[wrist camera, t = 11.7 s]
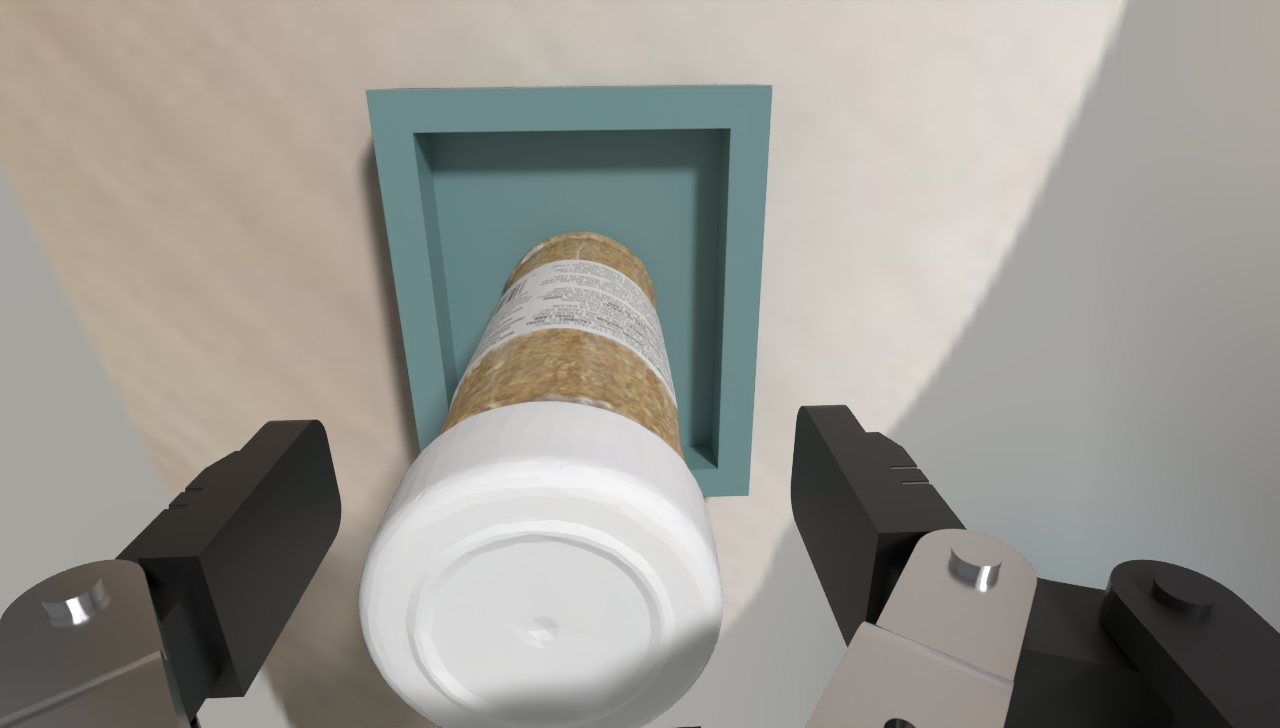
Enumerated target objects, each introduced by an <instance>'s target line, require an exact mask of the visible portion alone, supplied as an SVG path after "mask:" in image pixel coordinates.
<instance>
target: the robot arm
mask: <svg viewBox="0 0 1280 728" xmlns="http://www.w3.org/2000/svg"><path fill="white" fill-rule="evenodd" d="M791 504H792V511H793V515H794V519H795V522H796V525H797V527H798V529H799V532H800V534H801V536H802V539H803V541H804V544H805V546H806V549H807V551H808V554H809V556H810V558H811V561H812V563H813V565H814V568H815V570H816V573H817V575H818V578H819V580H820V582H821V585H822V587H823V590H824V592H825V595H826V597H827V599H828V602H829V604H830V607H831V609H832V611H833V614H834V616H835V619H836V621H837V623H838V626H839V628H840V631H841V633H842V636H843V638H844V640H845V643H846V645H847V650H846V652H845V654H844V656H843V658H842V659H841V661H840V663H839V665H838V667H837V669H836V670H835V673H834V674H833V676H832V678H831V680H830V682H829V683H828V685H827V687H826V689H825V691H824V693H823V695H822V696H821V698H820V700H819V702H818V704H817V706H816V708H815V710H814V711H813V713H812V715H811V717H810V719H809V721H808V722H807V724H806V726H805V728H1280V633H1278V632H1277V631H1276V630H1275V629H1274V628H1273V627H1272V626H1271V625H1269V623H1267V622H1266V621H1265V620H1264V619H1263V618H1262V617H1261V616H1260V615H1259V614H1257V613H1256V612H1255V611H1254V610H1253V609H1252V608H1251V607H1250V606H1249V605H1248V604H1246V603H1245V602H1244V601H1243V600H1242V599H1241V598H1240V597H1238V596H1237V595H1236V594H1235V593H1233V592H1232V591H1230V590H1229V589H1228V588H1226V587H1225V586H1223V585H1222V584H1220V583H1218V582H1216V581H1214V580H1213V579H1211V578H1209V577H1207V576H1204V575H1202V574H1200V573H1198V572H1195V571H1193V570H1190V569H1187V568H1184V567H1181V566H1178V565H1174V564H1170V563H1166V562H1161V561H1153V560H1131V561H1127V562H1123V563H1121V564H1119V565H1117V566H1116V567H1115V568H1114V569H1113V571H1112V573H1111V575H1110V578H1109V581H1108V584H1107V587H1106V590H1101V589H1095V588H1089V587H1084V586H1078V585H1072V584H1067V583H1061V582H1055V581H1050V580H1046V579H1041V578H1038V577H1037V576H1036V572H1035V570H1034V568H1033V566H1032V565H1031V563H1030V562H1029V561H1028V560H1027V558H1025V557H1024V556H1023V555H1022V554H1021V553H1020V552H1018V551H1017V550H1016V549H1015V548H1013V547H1012V546H1010V545H1008V544H1006V543H1005V542H1003V541H1001V540H998V539H996V538H994V537H991V536H988V535H986V534H982V533H978V532H975V531H969V530H967V529H966V528H965V527H964V525H963V524H962V523H961V521H960V520H959V519H958V518H957V516H956V515H955V514H954V512H953V511H952V510H951V509H950V507H949V506H948V505H947V503H946V502H945V501H944V500H943V498H942V497H941V496H940V494H939V493H938V492H937V491H936V489H935V488H934V487H933V486H932V485H929V480H928V479H927V478H926V476H925V475H924V474H923V473H922V471H921V470H920V469H917V465H916V464H915V463H914V461H913V460H912V458H911V457H910V456H909V455H908V453H907V452H906V451H905V449H904V448H903V447H902V446H900V445H898V444H897V443H895V442H894V441H892V440H890V439H889V438H887V437H886V436H884V435H882V434H881V433H879V432H865V430H864V429H863V428H862V426H861V425H860V423H859V422H858V421H857V419H856V418H855V416H854V415H853V414H852V412H851V411H850V409H849V408H848V407H847V406H846V405H821V406H801V407H800V409H799V411H798V415H797V421H796V432H795V443H794V454H793V466H792V477H791ZM340 521H341V499H340V494H339V490H338V485H337V480H336V476H335V471H334V466H333V462H332V457H331V452H330V448H329V443H328V439H327V434H326V431H325V428H324V426H323V424H322V423H321V422H320V421H319V420H284V421H269V422H267V423H266V424H265V425H264V426H263V427H262V428H261V429H260V430H259V431H258V432H257V433H256V434H255V435H254V436H253V437H252V438H251V439H250V440H249V442H248V443H247V444H246V445H245V446H244V447H243V448H242V449H241V450H240V451H234V452H233V453H231V454H229V455H228V456H226V457H224V458H222V459H221V460H219V461H217V462H215V463H214V464H212V465H210V466H209V467H207V468H205V469H204V470H203V471H202V472H201V473H200V474H199V475H198V476H197V477H196V478H195V479H194V480H193V481H192V482H191V483H190V484H189V485H188V486H187V487H186V488H185V492H181V493H180V494H179V495H178V496H177V497H176V498H175V499H174V500H173V501H172V502H171V503H170V504H169V509H165V510H163V511H162V512H161V513H160V514H159V515H158V516H157V517H156V518H155V519H154V520H153V521H152V522H151V523H150V524H149V525H148V526H147V527H146V528H145V529H144V530H143V531H142V532H141V533H140V534H139V535H138V536H137V537H136V538H135V540H133V541H132V542H131V543H130V544H129V545H128V546H127V547H126V548H125V549H124V550H123V551H122V552H121V553H120V554H119V555H118V556H117V557H116V558H115V559H114V560H104V561H97V562H92V563H88V564H84V565H81V566H77V567H74V568H71V569H68V570H66V571H63V572H60V573H58V574H56V575H54V576H52V577H50V578H47V579H46V580H44V581H42V582H40V583H38V584H36V585H35V586H33V587H32V588H30V589H29V590H27V591H26V592H24V593H23V594H22V595H21V596H19V597H18V598H17V599H16V600H15V601H14V602H13V603H12V604H11V605H10V606H9V607H8V608H7V609H6V611H5V612H4V614H3V615H2V617H1V619H0V728H201V726H200V723H199V720H198V718H197V715H196V714H197V712H198V710H199V709H200V707H201V706H202V704H203V702H204V701H205V699H206V698H226V697H244V696H245V694H246V692H247V691H248V689H249V687H250V685H251V684H252V682H253V680H254V678H255V677H256V675H257V673H258V672H259V670H260V668H261V666H262V665H263V663H264V661H265V659H266V658H267V656H268V654H269V652H270V651H271V649H272V647H273V645H274V644H275V642H276V640H277V638H278V637H279V635H280V633H281V632H282V630H283V628H284V626H285V625H286V623H287V621H288V619H289V618H290V616H291V614H292V612H293V611H294V609H295V607H296V605H297V604H298V602H299V600H300V598H301V597H302V595H303V593H304V591H305V590H306V588H307V586H308V585H309V583H310V581H311V579H312V578H313V576H314V574H315V572H316V571H317V569H318V567H319V565H320V564H321V562H322V560H323V558H324V557H325V555H326V553H327V551H328V550H329V548H330V546H331V545H332V543H333V541H334V539H335V537H336V535H337V533H338V530H339V526H340ZM679 728H701V727H679Z"/></svg>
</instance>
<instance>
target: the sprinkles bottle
mask: <svg viewBox="0 0 1280 728" xmlns="http://www.w3.org/2000/svg"><path fill="white" fill-rule="evenodd" d="M358 606H359V617H360V623H361V628H362V632H363V637H364V640H365V643H366V645H367V648H368V651H369V654H370V656H371V658H372V660H373V662H374V663H375V665H376V666H377V668H378V670H379V671H380V673H381V675H382V676H383V678H384V679H385V680H386V682H387V683H388V684H389V686H390V687H391V688H392V689H393V690H394V691H395V692H396V693H397V694H398V695H399V696H400V697H401V699H402V700H403V701H404V702H405V703H407V704H408V705H409V706H410V707H412V708H413V709H414V710H415V711H417V712H418V713H419V714H421V715H422V716H424V717H425V718H427V719H428V720H430V721H431V722H433V723H435V724H436V725H438V726H440V727H442V728H641V727H643V726H645V725H646V724H648V723H650V722H651V721H653V720H654V719H656V718H657V717H658V716H660V715H661V714H663V713H664V712H665V711H667V710H668V709H669V708H671V707H672V706H673V705H674V704H675V703H676V702H677V701H678V700H679V699H680V698H682V696H684V695H685V694H686V693H687V692H688V691H689V689H690V688H691V687H692V685H693V684H694V683H695V682H696V680H697V679H698V678H699V676H700V675H701V673H702V671H703V670H704V668H705V666H706V665H707V663H708V661H709V659H710V657H711V655H712V653H713V651H714V648H715V645H716V643H717V639H718V636H719V631H720V627H721V621H722V610H723V586H722V580H721V575H720V569H719V563H718V558H717V552H716V547H715V542H714V538H713V533H712V528H711V524H710V520H709V516H708V512H707V508H706V504H705V501H704V498H703V495H702V492H701V490H700V488H699V486H698V484H697V482H696V480H695V478H694V476H693V475H692V473H691V472H690V470H689V469H688V467H687V465H686V463H685V461H684V457H683V451H682V449H681V442H680V436H679V425H678V420H677V402H676V397H675V392H674V387H673V383H672V378H671V371H670V367H669V362H668V358H667V353H666V349H665V344H664V340H663V335H662V330H661V326H660V322H659V319H658V316H657V314H656V297H655V290H654V287H653V284H652V281H651V279H650V277H649V275H648V273H647V271H646V269H645V267H644V265H643V263H642V262H641V260H640V259H639V258H638V257H636V256H635V255H634V254H633V253H632V252H631V251H630V250H629V249H628V248H627V247H625V246H624V245H622V244H620V243H619V242H617V241H615V240H614V239H612V238H610V237H607V236H603V235H600V234H597V233H593V232H589V231H588V232H568V233H563V234H559V235H555V236H553V237H550V238H548V239H546V240H543V241H541V242H540V243H538V244H537V245H535V246H533V247H532V248H531V249H530V250H529V251H528V252H527V253H526V254H525V256H523V257H522V258H521V259H520V261H519V262H518V264H517V266H516V267H515V268H514V269H513V271H512V273H511V275H510V277H509V279H508V282H507V289H506V292H505V294H504V295H503V297H502V298H501V300H500V301H499V303H498V305H497V307H496V309H495V311H494V313H493V315H492V317H491V319H490V321H489V323H488V325H487V327H486V329H485V331H484V333H483V335H482V337H481V340H480V342H479V344H478V346H477V348H476V350H475V352H474V354H473V356H472V358H471V360H470V362H469V364H468V366H467V368H466V370H465V372H464V374H463V376H462V378H461V380H460V382H459V384H458V386H457V389H456V391H455V393H454V396H453V399H452V402H451V405H450V409H449V413H448V415H447V417H446V419H445V422H444V425H443V427H442V429H441V431H440V433H439V435H438V437H437V438H436V439H435V440H434V441H433V442H431V443H430V444H429V445H428V446H427V447H426V448H425V449H424V450H423V451H422V452H421V453H420V455H419V456H418V457H417V458H416V460H415V461H414V462H413V463H412V465H411V466H410V468H409V469H408V471H407V473H406V474H405V476H404V478H403V479H402V481H401V483H400V485H399V487H398V489H397V491H396V493H395V495H394V497H393V499H392V501H391V503H390V505H389V507H388V509H387V511H386V513H385V515H384V517H383V519H382V522H381V524H380V526H379V529H378V531H377V533H376V536H375V538H374V540H373V543H372V545H371V548H370V550H369V553H368V555H367V558H366V561H365V563H364V567H363V572H362V576H361V580H360V585H359V601H358Z"/></svg>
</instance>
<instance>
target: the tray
mask: <svg viewBox="0 0 1280 728" xmlns="http://www.w3.org/2000/svg"><path fill="white" fill-rule="evenodd" d="M366 96H367V102H368V109H369V116H370V122H371V129H372V135H373V142H374V149H375V155H376V162H377V169H378V175H379V182H380V189H381V195H382V202H383V209H384V215H385V222H386V228H387V235H388V242H389V248H390V255H391V262H392V268H393V275H394V282H395V288H396V295H397V302H398V308H399V315H400V321H401V328H402V335H403V341H404V348H405V355H406V361H407V368H408V375H409V381H410V388H411V395H412V401H413V408H414V414H415V421H416V428H417V434H418V441H419V448H420V453H421V452H422V451H423V450H424V449H425V448H426V447H427V446H428V445H429V444H430V443H431V442H433V441H434V440H435V439H436V438H437V437H438V435H439V433H440V431H441V429H442V427H443V425H444V422H445V419H446V417H447V415H448V413H449V409H450V405H451V402H452V399H453V396H454V393H455V391H456V389H457V386H458V384H459V382H460V380H461V378H462V376H463V374H464V372H465V370H466V368H467V366H468V364H469V362H470V360H471V358H472V356H473V354H474V352H475V350H476V348H477V346H478V344H479V342H480V340H481V337H482V335H483V333H484V331H485V329H486V327H487V325H488V323H489V321H490V319H491V317H492V315H493V313H494V311H495V309H496V307H497V305H498V303H499V301H500V300H501V298H502V297H503V295H504V294H505V292H506V289H507V282H508V279H509V277H510V275H511V273H512V271H513V269H514V268H515V267H516V266H517V264H518V262H519V261H520V259H521V258H522V257H523V256H525V254H526V253H527V252H528V251H529V250H530V249H531V248H532V247H533V246H535V245H537V244H538V243H540V242H541V241H543V240H546V239H548V238H550V237H553V236H555V235H559V234H563V233H568V232H588V231H589V232H593V233H597V234H600V235H603V236H607V237H610V238H612V239H614V240H615V241H617V242H619V243H620V244H622V245H624V246H625V247H627V248H628V249H629V250H630V251H631V252H632V253H633V254H634V255H635V256H636V257H638V258H639V259H640V260H641V262H642V263H643V265H644V267H645V269H646V271H647V273H648V275H649V277H650V279H651V281H652V284H653V287H654V290H655V297H656V314H657V316H658V319H659V322H660V326H661V330H662V335H663V340H664V344H665V349H666V353H667V358H668V362H669V367H670V371H671V378H672V383H673V387H674V392H675V397H676V402H677V420H678V425H679V436H680V442H681V449H682V451H683V457H684V461H685V463H686V465H687V467H688V469H689V470H690V472H691V473H692V475H693V476H694V478H695V480H696V482H697V484H698V486H699V488H700V490H701V492H702V495H703V497H717V496H748V495H749V478H750V461H751V444H752V427H753V409H754V392H755V375H756V358H757V340H758V323H759V306H760V289H761V271H762V254H763V237H764V220H765V203H766V185H767V168H768V151H769V134H770V116H771V99H772V85H754V84H750V85H665V86H580V87H495V88H410V89H379V90H366Z"/></svg>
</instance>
